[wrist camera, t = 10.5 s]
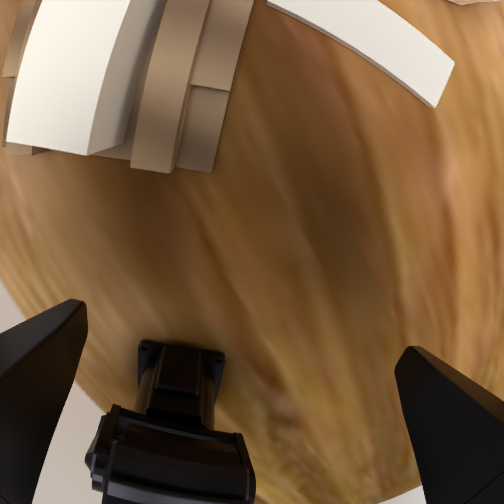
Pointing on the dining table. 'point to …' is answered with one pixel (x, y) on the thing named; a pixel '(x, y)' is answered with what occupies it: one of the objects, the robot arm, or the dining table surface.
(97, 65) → the white box
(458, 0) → the white cup
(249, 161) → the dining table surface
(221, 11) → the cradle
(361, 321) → the dining table surface
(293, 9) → the strip
